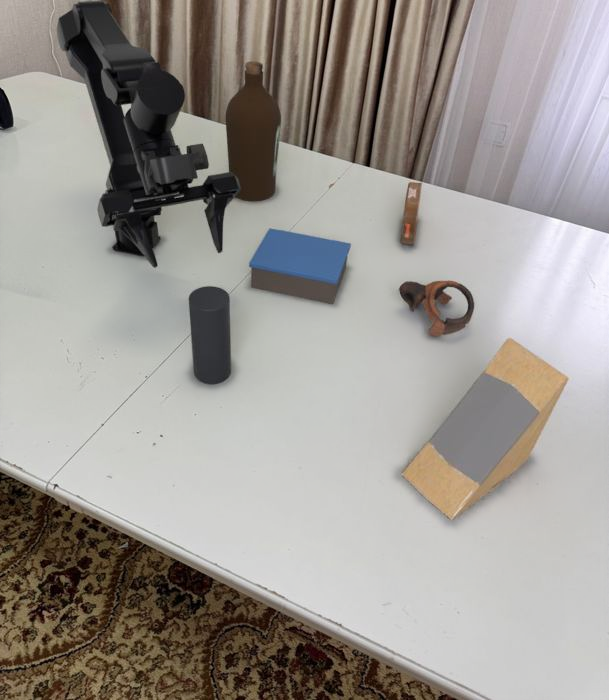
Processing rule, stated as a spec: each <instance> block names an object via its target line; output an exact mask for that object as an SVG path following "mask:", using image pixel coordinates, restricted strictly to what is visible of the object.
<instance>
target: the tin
mask: <svg viewBox="0 0 609 700" xmlns="http://www.w3.org/2000/svg"><path fill="white" fill-rule="evenodd" d="M422 186H423V182H413V181H410V182H408V183H407V188H406V194H405V200H404V201H405V202H404V209H403V217H402V230H401V235H400V243H401V244H406V245H407V244H408V245H413V246H414V245H415V242H416V232H417V227H418V226H417V225H418V217H419V208H420V203H421V201H420V200H421V193H422Z"/></svg>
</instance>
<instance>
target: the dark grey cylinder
mask: <svg viewBox="0 0 609 700" xmlns="http://www.w3.org/2000/svg"><path fill="white" fill-rule="evenodd" d="M188 310H189V311H188V312H189V323H190V324H189V325H190V337H191V339H190V340H191V351H192V367H193V375H194V377H195V379H196V380H197V381H199V382H200V383H203V384H206V385H217V384H221V383H223V382H224V381H226V380H228V379H229V377H230V376H231V374H232V354H231V353H232V352H231V351H232V350H231V297H230V295H229V293H228V291H226V290H225V289H224V288H222V287H218V286H213V285H207V286H201V287H198V288H196V289H194V290H192V291H191V292H190V294H189V296H188Z"/></svg>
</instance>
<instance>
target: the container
mask: <svg viewBox="0 0 609 700" xmlns="http://www.w3.org/2000/svg"><path fill="white" fill-rule="evenodd" d="M351 246H352V243H351V242H345V241H341V240H335V239H329V238H325V237H319V236H314V235H308V234H303V233H298V232H292V231H287V230H283V229H276V228H272V227H269V228H268V230H267V232H266V233H265V235H264V237H263V238H262V240H261V242H260V243H259V245H258V247H257V248H256V250H255V252H254V254H253V256H252V257H251V259H250V261H249V262H248V267H249V268H251V269H250V271H251V272H250V273H251V274H250V275H251V276H250V279H251V280H250V287H251V288H253V289H257V290H263V291H267V292H272V293H277V294H282V295H285V296H286V295H287V296H292V297H295V298H296V297H297V298H301V299H307V300H311V301H316V302H322V303H326V304H330V305H333V304H334V302H335V300H336V297H337V294H338V291H339V289H340V285H341V283H342V281H343V277H344V275H345V272H346V268H347V262H348V255H349V252H350V250H351Z"/></svg>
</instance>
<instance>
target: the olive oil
mask: <svg viewBox="0 0 609 700" xmlns="http://www.w3.org/2000/svg"><path fill="white" fill-rule="evenodd" d="M244 66H245V67H244V68H245V70H244V84H243V85H242V86H241V88H240V89H238V91H237V92H236V93H235V94H234V95H233V96H232V97H231V98H230V100H229V102H228V103H227V107H226V110H225V115H224V116H225V119H224V120H225V131H226V144H227V145H226V146H227V147H226V148H227V162H228V172H232V173H233V174H234V175H235V176H236V177H237V178H238V180H239V184H240V187H241V190H240V191H239V193H238V194H237V195H236V196H235V197H234V198H237V199H240V200H243V201H249V202H259V201H260V202H261V201H264V200H265V201H266V200H267V199H270V198H271V197H272V196H274V194H275V192H276V183H277V171H278V159H279V158H278V157H279V149H280V148H279V146H280V139H281V137H280V136H281V127H282V115H281V110H280V106H279V104H278V102H277V100H276V99H275V98H274V97H273V95H271V93H270V92H269V91H268V90H267V89H266V88H265V86H264V71H263V68H264V65H263V63H262V62H259V61H254V60H253V61H246V62H245V65H244Z"/></svg>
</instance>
